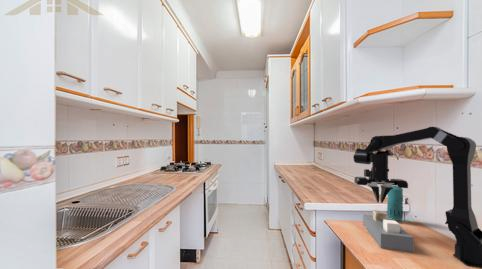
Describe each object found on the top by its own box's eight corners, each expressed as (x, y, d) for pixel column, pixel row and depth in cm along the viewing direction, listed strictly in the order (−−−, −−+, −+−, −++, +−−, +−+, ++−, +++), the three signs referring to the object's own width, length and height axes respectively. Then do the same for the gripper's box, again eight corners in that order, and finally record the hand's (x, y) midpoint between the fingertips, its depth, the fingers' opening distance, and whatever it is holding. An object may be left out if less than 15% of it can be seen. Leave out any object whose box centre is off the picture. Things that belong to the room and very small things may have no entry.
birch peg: (383, 222, 96) (383, 211, 96) (386, 225, 92) (386, 214, 92) (372, 221, 97) (372, 210, 97) (375, 224, 93) (376, 213, 93)
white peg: (395, 233, 84) (395, 220, 84) (399, 237, 80) (399, 224, 80) (383, 232, 85) (383, 219, 85) (387, 236, 81) (387, 223, 81)
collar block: (388, 228, 98) (388, 216, 98) (413, 252, 76) (413, 237, 77) (363, 225, 100) (363, 214, 100) (380, 247, 79) (380, 233, 79)
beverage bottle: (387, 221, 106) (387, 179, 107) (386, 217, 112) (386, 177, 113) (404, 224, 103) (404, 180, 104) (401, 220, 109) (402, 178, 110)
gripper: (396, 164, 100) (396, 199, 100) (351, 162, 105) (351, 196, 105) (408, 167, 90) (408, 206, 89) (357, 165, 94) (357, 202, 94)
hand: (379, 202), depth 95 cm, fingers closed
